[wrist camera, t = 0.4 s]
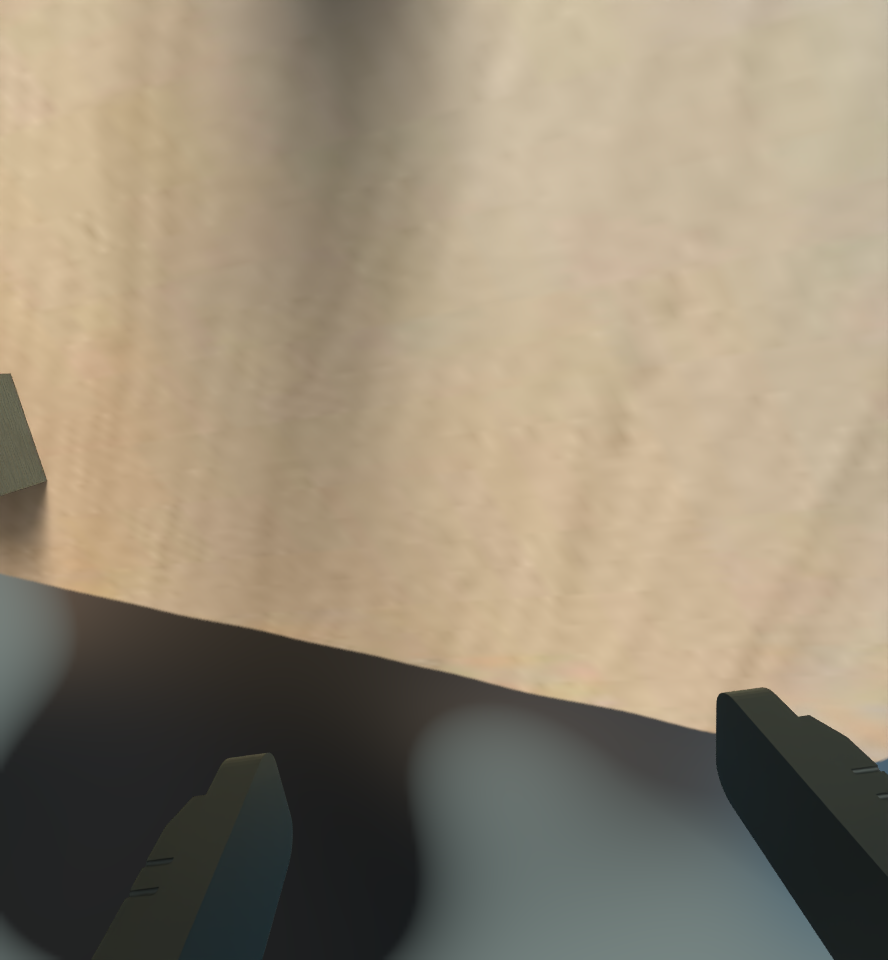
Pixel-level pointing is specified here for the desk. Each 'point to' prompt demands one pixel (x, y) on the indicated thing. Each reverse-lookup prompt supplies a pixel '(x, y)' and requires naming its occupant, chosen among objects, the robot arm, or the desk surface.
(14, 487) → the grey cube with hole
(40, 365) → the desk surface
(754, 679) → the desk surface
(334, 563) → the desk surface
